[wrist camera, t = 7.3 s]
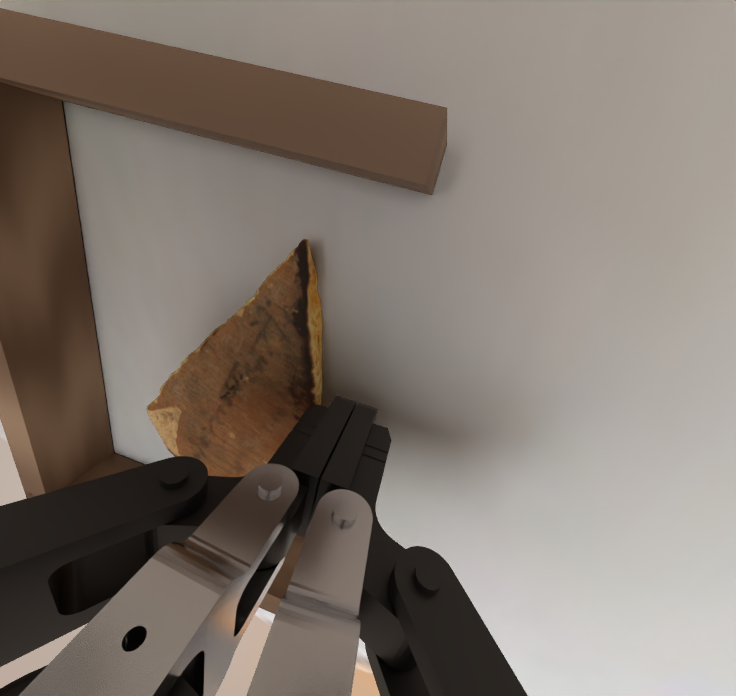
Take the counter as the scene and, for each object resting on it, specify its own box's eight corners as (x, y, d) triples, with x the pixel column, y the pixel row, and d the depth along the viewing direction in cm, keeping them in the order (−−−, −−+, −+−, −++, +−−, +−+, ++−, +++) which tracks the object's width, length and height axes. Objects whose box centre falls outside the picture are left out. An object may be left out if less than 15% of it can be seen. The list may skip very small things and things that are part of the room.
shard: (323, 234, 10) (299, 237, 9) (461, 407, 11) (464, 439, 10) (162, 393, 15) (126, 415, 13) (274, 506, 16) (254, 539, 14)
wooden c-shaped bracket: (21, 43, 10) (-147, -25, 7) (446, 144, 8) (447, 107, 5) (97, 461, 17) (30, 508, 14) (327, 554, 15) (302, 625, 13)
